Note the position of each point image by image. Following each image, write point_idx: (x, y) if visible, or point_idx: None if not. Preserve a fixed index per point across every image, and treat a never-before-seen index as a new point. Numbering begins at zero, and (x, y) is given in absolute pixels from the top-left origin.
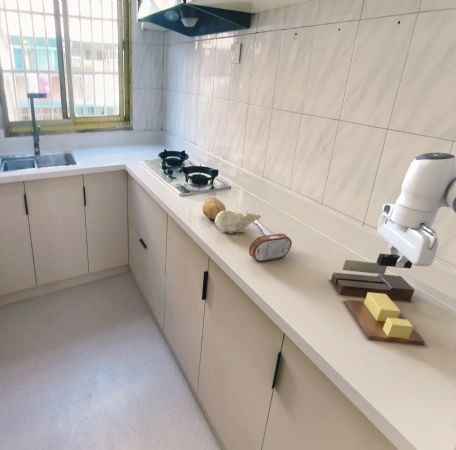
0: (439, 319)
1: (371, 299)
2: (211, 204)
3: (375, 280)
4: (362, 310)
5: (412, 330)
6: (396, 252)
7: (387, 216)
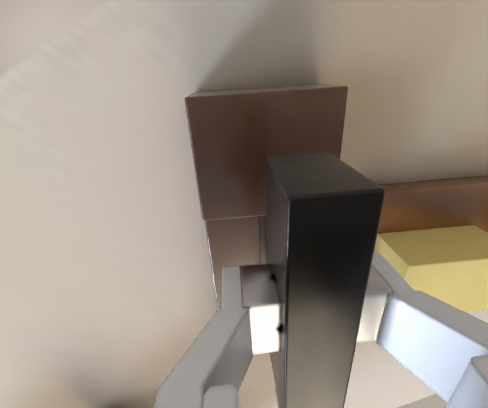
0: (455, 3)
1: None
2: None
3: (252, 238)
4: None
5: None
6: (237, 338)
7: None
